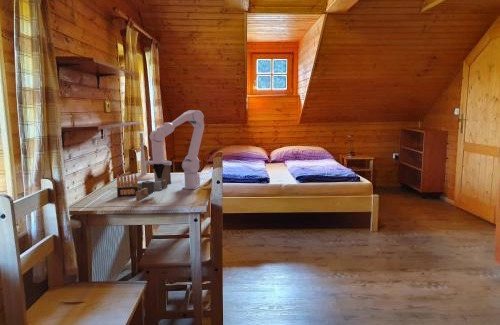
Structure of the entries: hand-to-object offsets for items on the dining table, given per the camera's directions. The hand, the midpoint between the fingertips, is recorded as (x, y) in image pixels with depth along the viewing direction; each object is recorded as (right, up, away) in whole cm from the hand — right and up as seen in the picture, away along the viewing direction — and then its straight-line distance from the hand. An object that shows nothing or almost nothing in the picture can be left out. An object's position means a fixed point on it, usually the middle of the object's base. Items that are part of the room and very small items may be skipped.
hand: (159, 178), depth 204 cm
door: (-9, -7, +9) cm, 15 cm away
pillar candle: (-4, -5, +26) cm, 27 cm away
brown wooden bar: (-4, -8, +2) cm, 9 cm away
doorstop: (-8, -8, +5) cm, 12 cm away
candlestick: (-20, -2, +43) cm, 48 cm away
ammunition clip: (-16, -10, -3) cm, 19 cm away
